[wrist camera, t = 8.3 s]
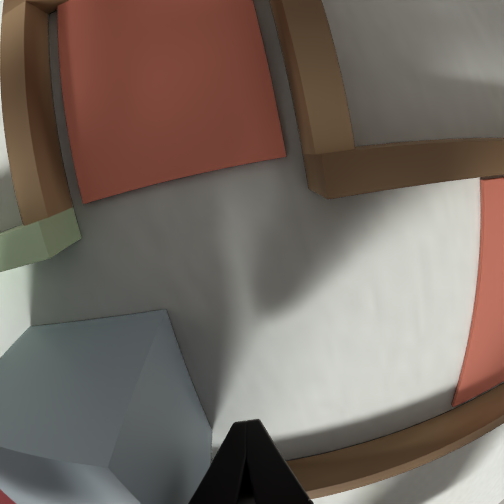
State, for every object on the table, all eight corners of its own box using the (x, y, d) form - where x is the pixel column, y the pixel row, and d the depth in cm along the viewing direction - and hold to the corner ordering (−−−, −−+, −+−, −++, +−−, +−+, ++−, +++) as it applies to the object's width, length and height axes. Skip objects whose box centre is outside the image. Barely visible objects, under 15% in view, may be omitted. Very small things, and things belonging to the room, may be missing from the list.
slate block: (212, 431, 12) (206, 559, 6) (91, 432, 12) (53, 533, 6) (165, 309, 10) (107, 467, 4) (30, 326, 10) (-56, 426, 4)
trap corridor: (514, 386, 13) (530, 404, 11) (50, 468, 13) (40, 490, 11) (508, -21, 6) (533, -31, 4) (-93, 109, 6) (-119, 111, 4)
